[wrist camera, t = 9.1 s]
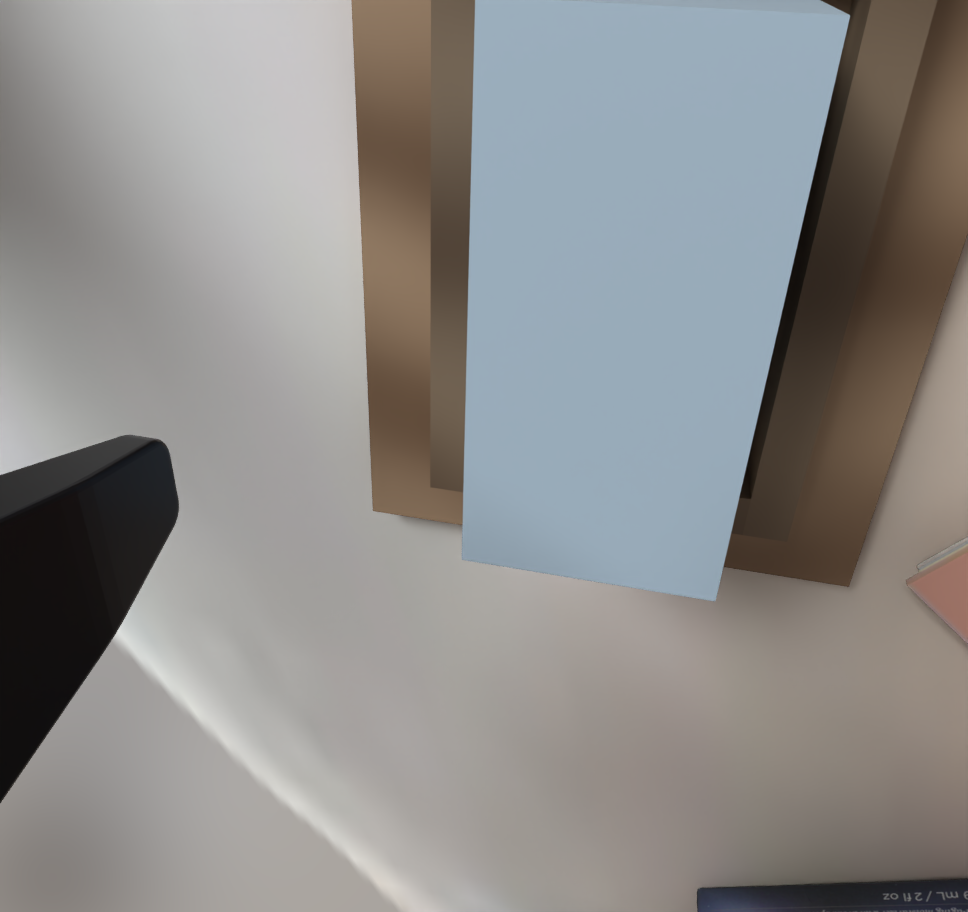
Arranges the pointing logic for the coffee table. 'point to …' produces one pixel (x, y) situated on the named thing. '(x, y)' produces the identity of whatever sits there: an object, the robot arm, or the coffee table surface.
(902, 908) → the small box
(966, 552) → the notebook
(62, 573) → the robot arm
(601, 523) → the key block
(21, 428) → the coffee table surface
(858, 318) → the keyed nest
